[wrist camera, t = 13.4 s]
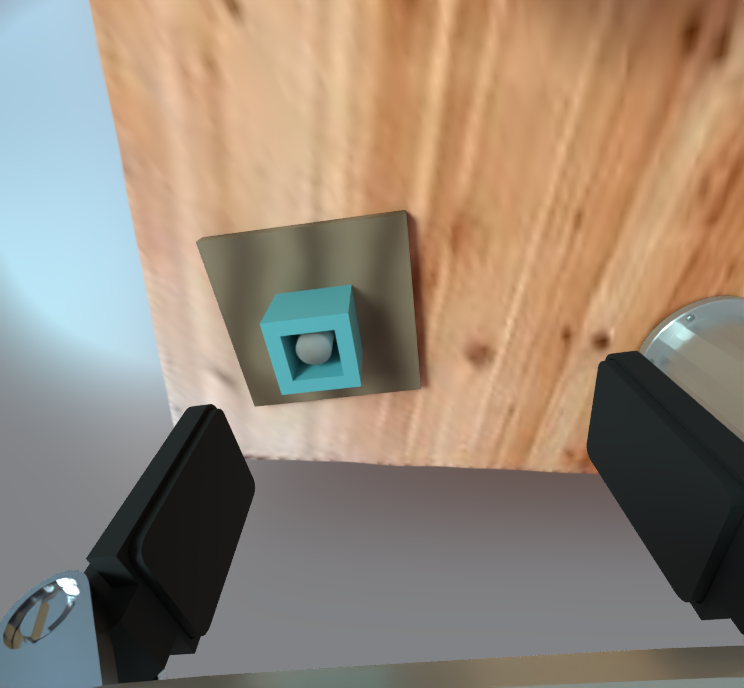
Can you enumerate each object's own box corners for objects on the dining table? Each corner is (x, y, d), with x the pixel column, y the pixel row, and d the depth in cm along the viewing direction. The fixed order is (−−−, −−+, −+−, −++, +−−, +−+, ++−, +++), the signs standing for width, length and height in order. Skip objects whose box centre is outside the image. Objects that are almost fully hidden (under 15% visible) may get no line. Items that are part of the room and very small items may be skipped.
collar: (351, 284, 35) (348, 312, 30) (362, 350, 38) (361, 386, 33) (275, 294, 35) (259, 323, 30) (293, 358, 39) (281, 395, 34)
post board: (404, 210, 33) (412, 228, 27) (419, 380, 42) (426, 420, 36) (202, 237, 34) (169, 260, 29) (258, 397, 43) (241, 439, 37)
